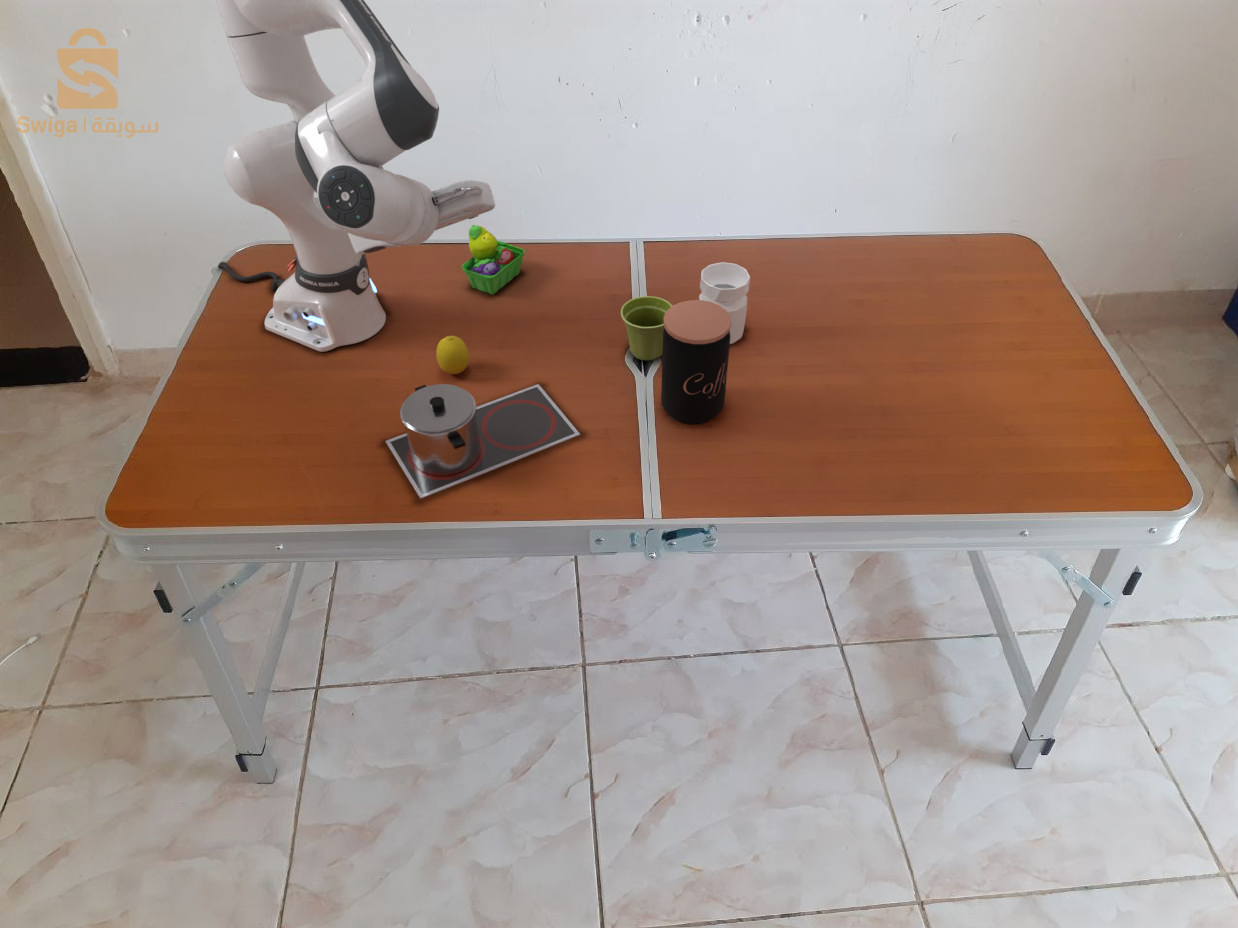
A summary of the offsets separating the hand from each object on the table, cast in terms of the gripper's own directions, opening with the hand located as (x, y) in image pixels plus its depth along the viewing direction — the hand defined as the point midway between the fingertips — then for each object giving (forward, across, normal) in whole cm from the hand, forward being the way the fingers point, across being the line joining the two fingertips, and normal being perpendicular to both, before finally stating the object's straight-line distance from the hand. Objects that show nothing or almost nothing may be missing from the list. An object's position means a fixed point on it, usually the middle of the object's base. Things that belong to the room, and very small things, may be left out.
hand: (444, 222), depth 141 cm
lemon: (+23, +15, +20) cm, 34 cm away
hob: (+11, +9, +32) cm, 35 cm away
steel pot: (+7, +14, +33) cm, 36 cm away
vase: (+43, -30, +26) cm, 58 cm away
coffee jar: (+25, -24, +37) cm, 51 cm away
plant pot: (+35, -17, +26) cm, 47 cm away
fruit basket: (+47, +11, +3) cm, 49 cm away
